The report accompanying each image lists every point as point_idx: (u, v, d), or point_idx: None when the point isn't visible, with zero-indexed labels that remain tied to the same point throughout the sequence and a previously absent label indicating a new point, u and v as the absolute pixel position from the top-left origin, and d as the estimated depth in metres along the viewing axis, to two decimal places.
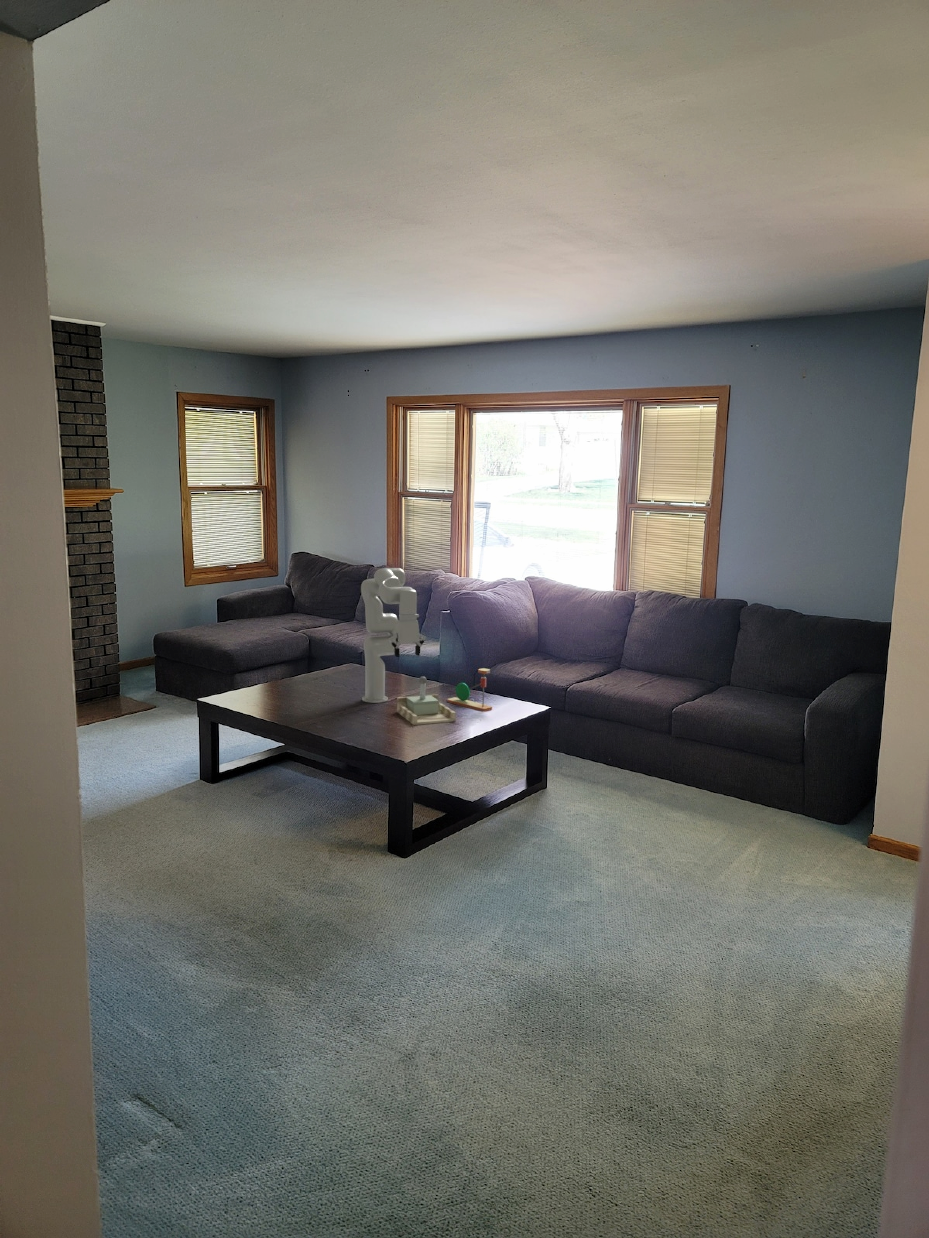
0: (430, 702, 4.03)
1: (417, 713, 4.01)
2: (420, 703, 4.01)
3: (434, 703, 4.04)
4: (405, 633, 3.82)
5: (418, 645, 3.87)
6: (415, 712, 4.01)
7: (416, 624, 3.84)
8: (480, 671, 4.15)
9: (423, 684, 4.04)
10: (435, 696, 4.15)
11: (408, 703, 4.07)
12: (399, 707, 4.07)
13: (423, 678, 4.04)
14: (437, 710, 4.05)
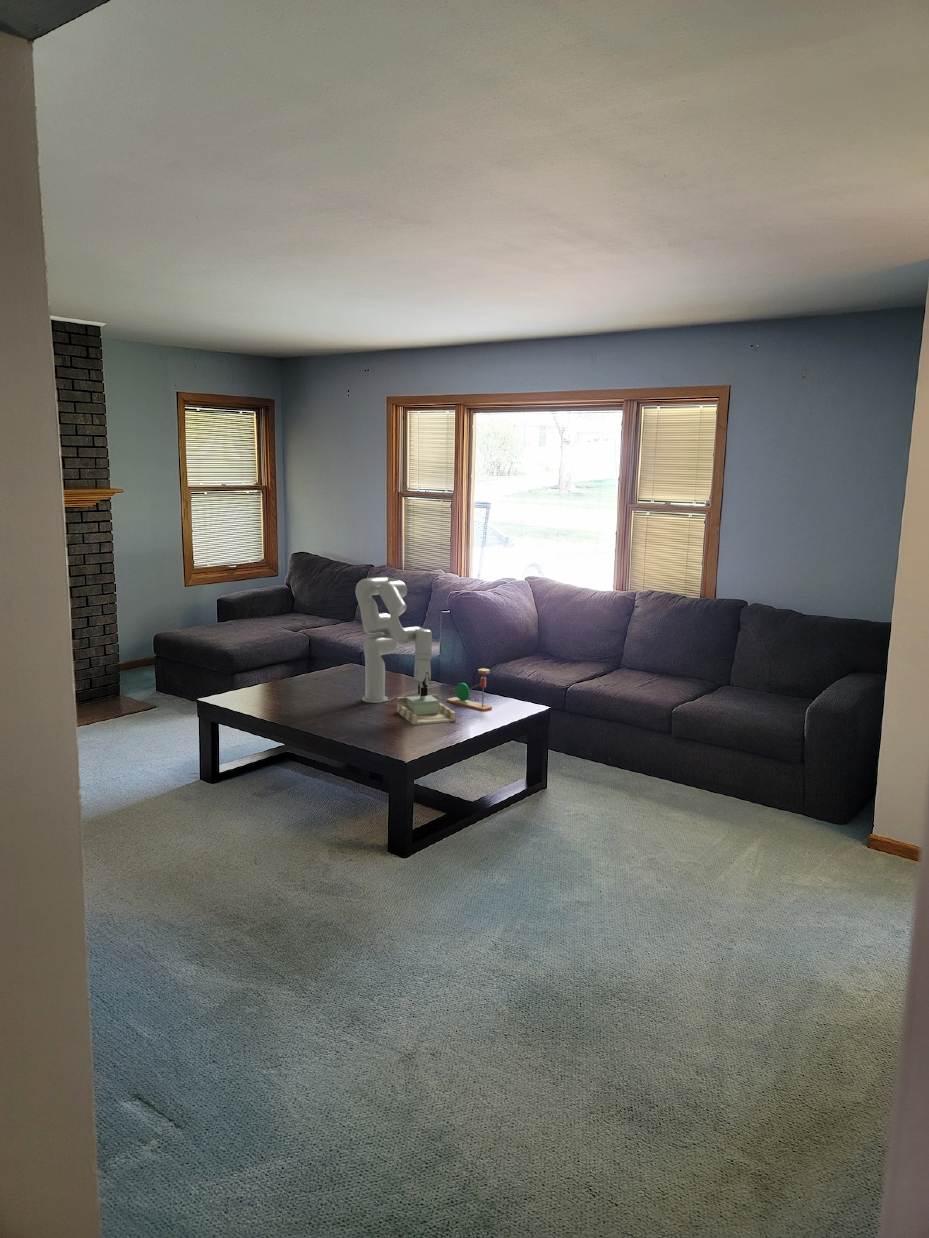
0: (430, 702, 4.03)
1: (417, 713, 4.01)
2: (420, 703, 4.01)
3: (434, 703, 4.04)
4: None
5: None
6: (415, 712, 4.01)
7: None
8: (480, 671, 4.14)
9: None
10: (435, 696, 4.15)
11: (408, 703, 4.07)
12: (399, 707, 4.07)
13: None
14: (437, 710, 4.05)
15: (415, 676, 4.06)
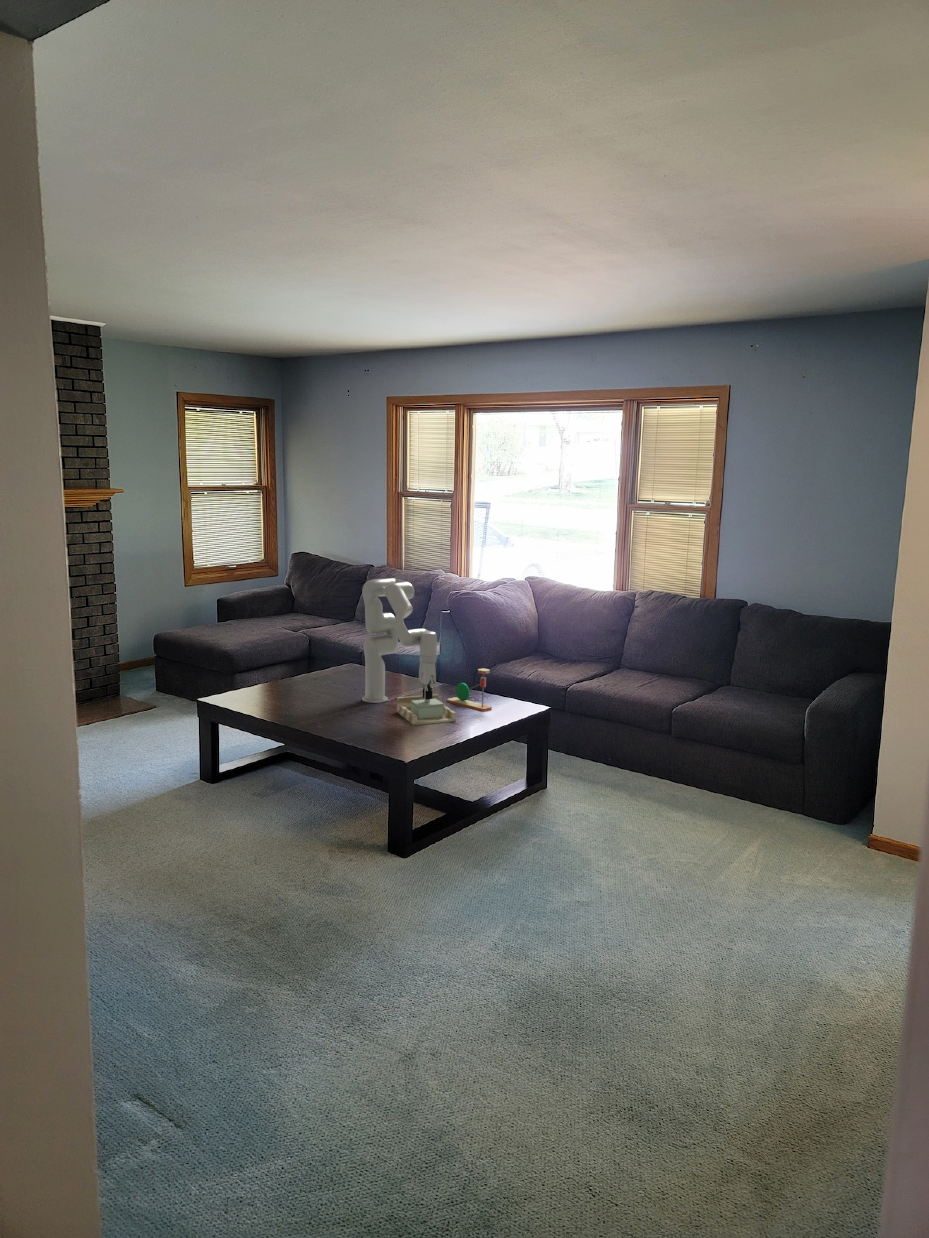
0: (435, 705, 3.97)
1: (422, 716, 3.96)
2: (425, 706, 3.95)
3: (439, 706, 3.98)
4: None
5: None
6: (420, 715, 3.95)
7: None
8: (480, 671, 4.14)
9: None
10: (435, 696, 4.15)
11: (413, 706, 4.01)
12: (399, 707, 4.07)
13: None
14: (442, 713, 3.99)
15: (420, 679, 4.00)
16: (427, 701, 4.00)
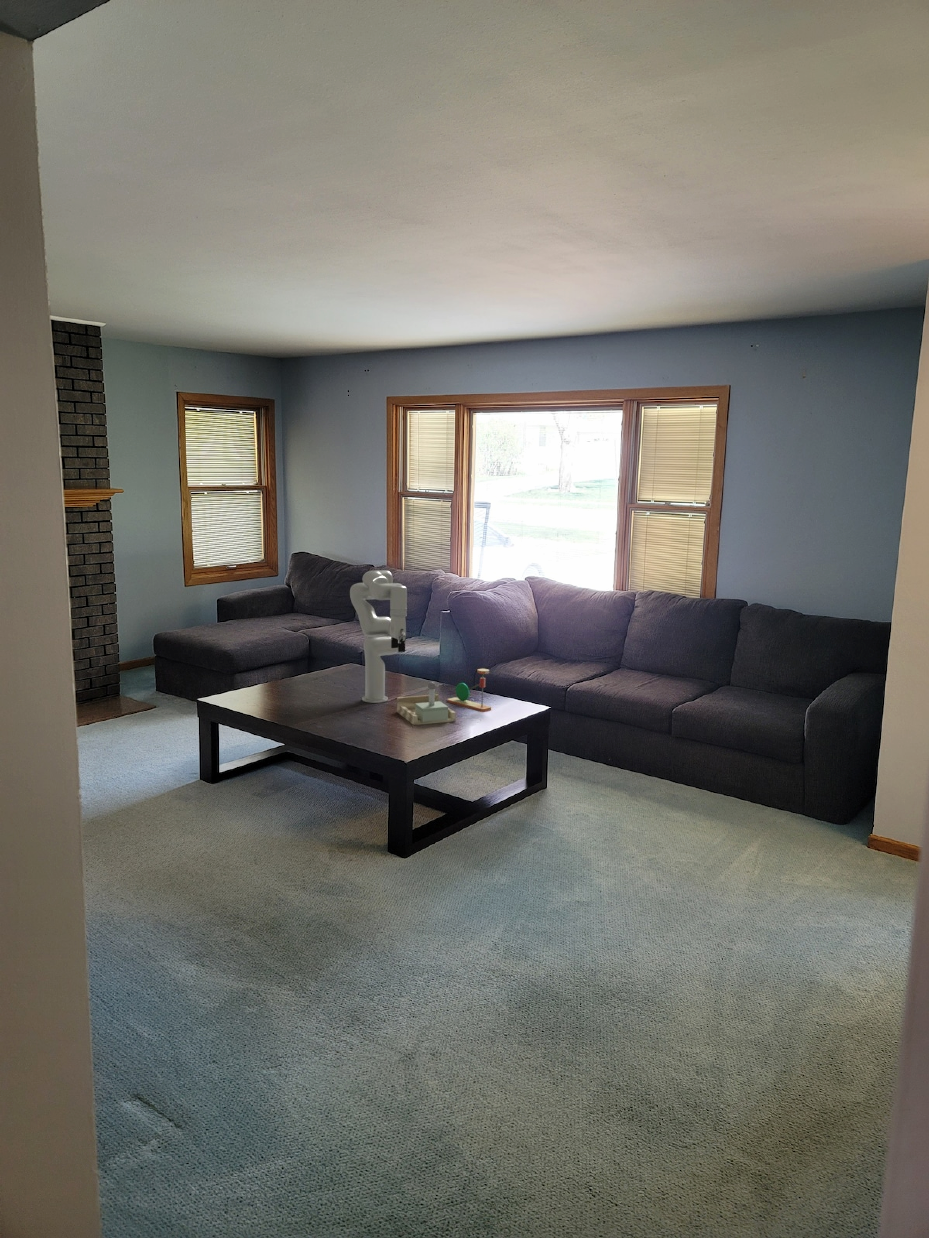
0: (439, 708, 3.92)
1: (426, 720, 3.91)
2: (429, 709, 3.90)
3: (443, 709, 3.93)
4: None
5: (397, 638, 4.06)
6: (424, 719, 3.90)
7: None
8: (479, 671, 4.14)
9: (432, 690, 3.94)
10: (435, 696, 4.15)
11: (417, 709, 3.96)
12: (399, 707, 4.07)
13: (432, 684, 3.93)
14: (446, 716, 3.94)
15: (390, 633, 4.02)
16: (431, 704, 3.95)
